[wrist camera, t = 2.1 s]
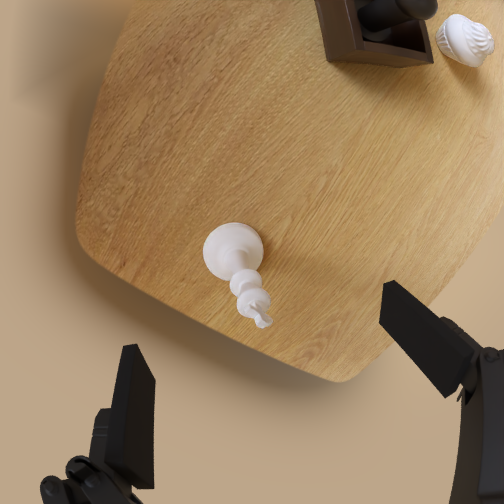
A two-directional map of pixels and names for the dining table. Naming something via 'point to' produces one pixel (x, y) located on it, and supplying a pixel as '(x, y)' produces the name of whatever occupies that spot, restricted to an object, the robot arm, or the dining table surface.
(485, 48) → the muffin
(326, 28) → the rack
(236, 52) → the dining table surface
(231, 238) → the chess piece
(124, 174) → the dining table surface
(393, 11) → the ebony piece
